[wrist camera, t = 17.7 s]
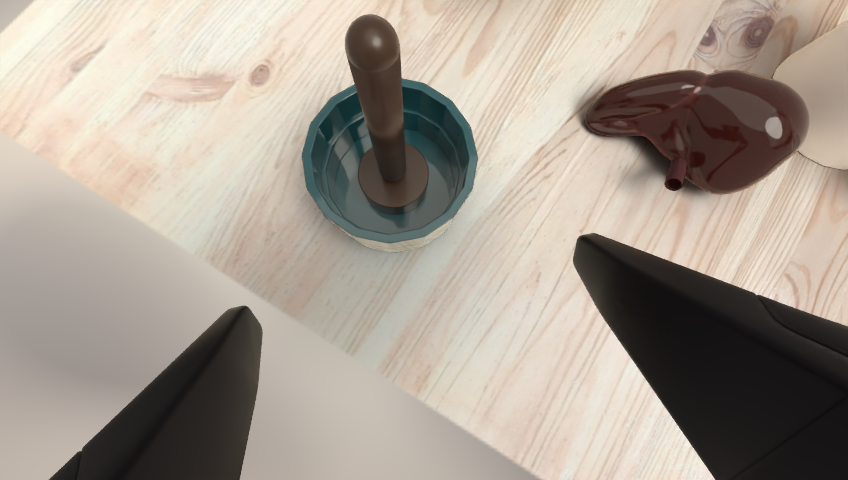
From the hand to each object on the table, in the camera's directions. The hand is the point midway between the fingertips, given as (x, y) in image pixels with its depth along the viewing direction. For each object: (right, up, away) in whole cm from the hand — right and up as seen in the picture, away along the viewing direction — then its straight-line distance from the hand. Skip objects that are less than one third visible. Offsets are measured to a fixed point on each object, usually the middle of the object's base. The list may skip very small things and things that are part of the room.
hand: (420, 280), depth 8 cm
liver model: (+18, +9, +15) cm, 25 cm away
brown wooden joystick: (-2, +5, +13) cm, 14 cm away
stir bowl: (-2, +5, +13) cm, 14 cm away
